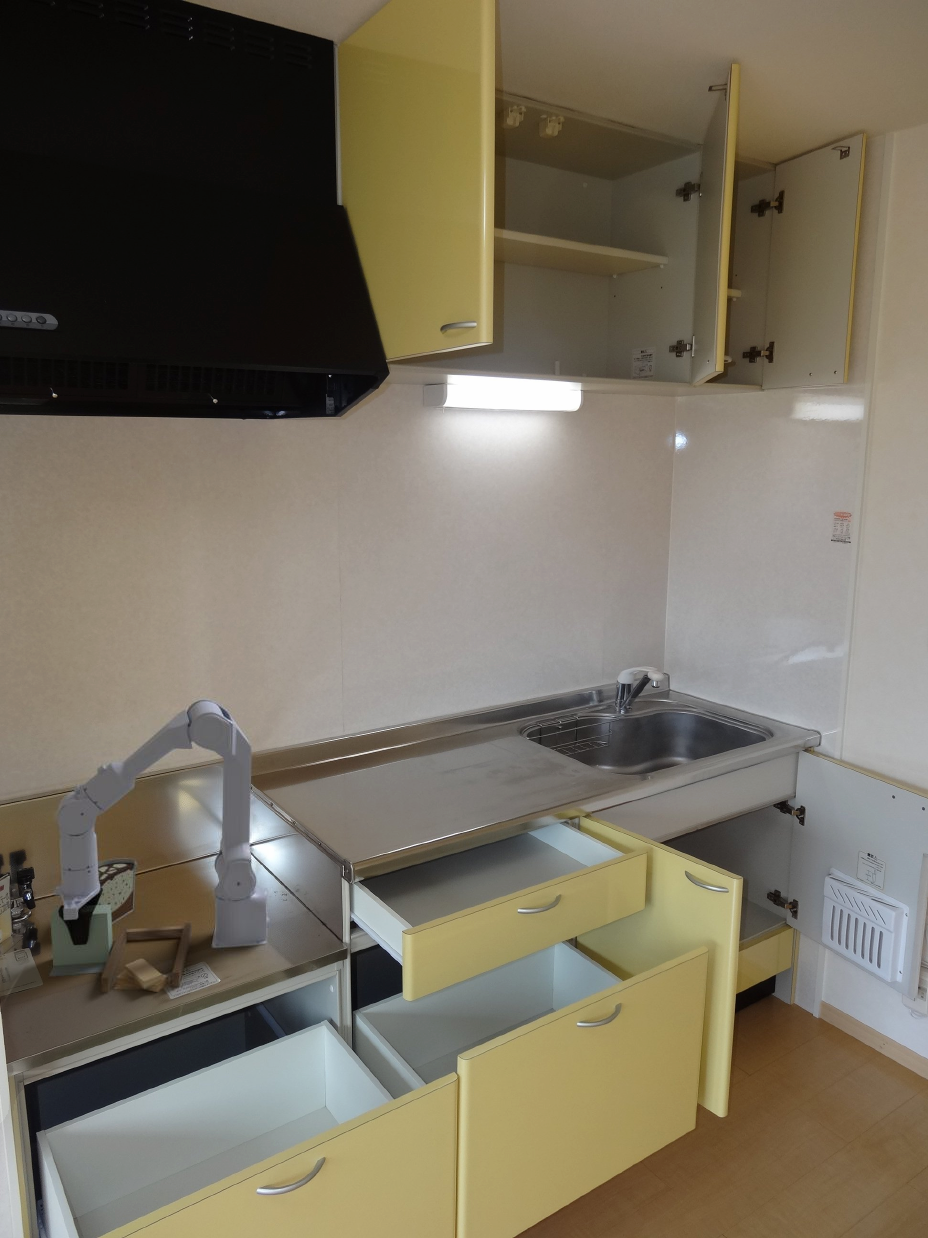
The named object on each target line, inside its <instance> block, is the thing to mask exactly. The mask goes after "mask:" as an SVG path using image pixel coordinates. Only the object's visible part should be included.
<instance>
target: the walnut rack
mask: <svg viewBox="0 0 928 1238" xmlns="http://www.w3.org/2000/svg"><path fill="white" fill-rule="evenodd" d="M192 934H193V933H192V924H191V922H186V923H184V925H174V926H173V925H172V926H159V927H157V926H156V927H143V928H142V927H141V928H128V927H127V926H121V927H120V928H119V931H118V933H117V935H116V937H115V941H114V942H113V944H114V946H113V948H112V951H111V953H110V956H109V959H108V961H107V964H106V966H105V969H104V972H103V973H101V977H100V981H101V982H100V986H101V987H100V988H101V994H108V993H110V992H109V991H110V989H111V985H112V983H113V981H114V978H115V975H116V972H117V971H118V966H119V964H120V961H121V959H122V956H123V954H124V949H125V948H126V945H127V942H128V941H142V940H143V941H144V940H156V939H160V940H161V939H171V938H173V939H174V938H180V942H179V945H178V949H177V953H176V958H175V961H174V964H173V965H174V966H173V969H172V974H171V975H172V977H171V978H172V988H173V989H174V988H175V989H178V988H180V986H181V982H182V977H183V973H184V968H185V964H186V959H187V955H188V951H189V948H190V947H189V946H190V943H191V938H192Z"/></svg>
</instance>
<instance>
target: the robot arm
mask: <svg viewBox="0 0 928 1238" xmlns="http://www.w3.org/2000/svg"><path fill="white" fill-rule="evenodd" d="M192 743H194V744H195V745H196V746H198V747H199V748H203V749H205V750H209V751H212V752H214V753H216V754H217V755H219V756H220V757H221V758H223V760H222V761H223V762H222V763H223V765H222V766H223V768H222V769H223V770H222V771H223V772H222V776H223V777H222V778H223V779H222V818H221V820H222V821H221V822H222V823H221V824H222V825H221V826H222V827H221V828H222V829H221V830H222V831H221V839H220V843H219V846H220V847H219V851H218V854H217V855H216V856H215V859H214V864H213V865H214V869H215V873H216V874H217V878H218V883H217V885H216V886H215V888H214V908H215V909H214V911H215V913H214V915H215V917H214V918H215V919H214V920H215V927H214V930H213V936H212V937H213V938H212V943H211V948H212V949H220V948H233V947H234V948H235V947H249V946H252V947H253V946H262V945H263V946H265V945H267V941H268V929H269V928H270V917H269V913H268V911H269V910H268V904H269V903H268V901H269V900H268V888H266V887H258V886H257V875H256V873H255V872H254V870H253V869H254V868H253V867H252V854H251V845H250V836H251V835H250V832H251V831H250V830H251V829H250V828H251V827H250V826H251V825H250V824H251V795H252V794H251V791H252V790H251V788H252V787H251V786H252V782H251V781H252V753H253V752H252V745H251V744H250V741H249V740H248V737H246V735H245V734H244V733H243V731H242V730H241V728H240V727H239V726H238V724H237V723H236V721H235V720H234V718H233V717H232V716H231V713H229V711H228V710H227V709H226V708H225V707H223V706H222V705H220V704H219V703H218V702H216V701H214V700H212V699H207V698H205V699H203V698H202V699H198V700H196V701H194V702H193V703H191V705H190V706H189V707H188V709H184V710H181V711H180V712H179V713H177V714H176V715H174V717H173V718H171V720H170V721H169V722H167V723H166V724H165V725H164V726H162V728H161V729H159V730H158V731H157V732H156V733H155V734H154V735H153V736H151V737H150V738H149V739H148V740H147V741H145V742H144V743H143V744H142V745H141V746H139V748H138V749H136V750H135V751H134V752H133V753H132V754H131V755H130V756H128V758H126V759H125V760H124V761H111V762H109V764H107V765H105V764H101V765H100V766H99V767H98V768H97V769H96V772H97V773H96V774H94V776H92V778H91V777H90V779H88V780H87V781H86V782H85V783H84V784H82V785H81V786H80V785H77V786H75V787H74V788H73V791H71V792H69V793H67V794H65V795H64V796H63V797H62V798H61V799H60V801H59V804H58V807H57V819H56V820H57V825H58V827H59V836H60V838H59V841H58V842H59V843H58V844H59V855H60V857H59V858H60V873H61V874H60V877H61V885H60V886H59V885H58V886H56V888H55V889H54V896H60V897H61V900H62V903H63V904H62V905H60V908H59V907H58V908H59V910H58V913H59V917H60V918H61V919H62V920H63V921H64V923H65V924H66V926H67V928H68V931H69V933H70V937H71V940H72V942H73V945H86V944H87V941H88V937H89V929H90V921H91V917H92V914H93V912H94V910H95V908H96V905H98V901H99V899H100V896H101V894H102V892H103V888H101V887H100V883H99V879H98V862H99V861H98V842H97V841H98V839H97V837H98V836H97V834H96V833H95V825H96V822H97V817H98V816H99V815H102V814H103V813H105V812H106V811H107V810H108V809H109V808H111V807H113V805H115V804H116V803H117V802H118V801H120V800H121V799H122V798H123V797H124V796H126V795H127V794H128V793H130V791H132V790H133V789H135V785H136V778H137V777H138V776H139V775H141V774H142V773H143V772H145V771H146V770H147V769H149V768H150V767H152V765H155V763H157V762H158V761H160V760H162V758H164V757H165V756H166V755H168V754H169V753H171V752H172V751H174V750H176V749H177V750H178V749H179V750H193V749H194V748H193V744H192ZM93 905H95V906H93Z"/></svg>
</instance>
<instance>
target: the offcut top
mask: <svg viewBox="0 0 928 1238" xmlns="http://www.w3.org/2000/svg"><path fill="white" fill-rule="evenodd" d="M124 970H125V972H126V973H127V974H128V975H129V976H131V977H132V978H133V979H134V980H135V981H136V982H137V983H139V984H140V985H141V986H142V987H143V988H144V989H145V988H147V987H149V986H152V985H154V984H156V983H159V982H161V981H162V974H163V973H161V972H159V971H158V970H157V969H155V967H153V965H151V964H150V963H149V962H147V960H145V959H144V958H143V957H142V958H140V959H139V958H138V959H136V960H133V961H131V962H130V963H129V962H128V963H126V964H125V965H124ZM144 989H143V990H144Z"/></svg>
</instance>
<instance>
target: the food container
mask: <svg viewBox="0 0 928 1238" xmlns="http://www.w3.org/2000/svg"><path fill="white" fill-rule="evenodd" d="M136 869H139V867H138V863H137V861H136V858H135V859H134V858H127V857H123V858H121V857H119V858H111V859H106V860H102V861H98V879H99V883H100V887H101V888H103V892H102V894H101V896H100V899H99V901H98V905H111V919H112V925H113V924H115V923H116V922H118V921H119V920H121V919H122V918H124V917H126V916H128V915H129V914H130V913H132V912H133V911H135V910H134V909H135V890H136V889H135V888H136V886H135V885H136V884H135V883H136Z"/></svg>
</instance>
